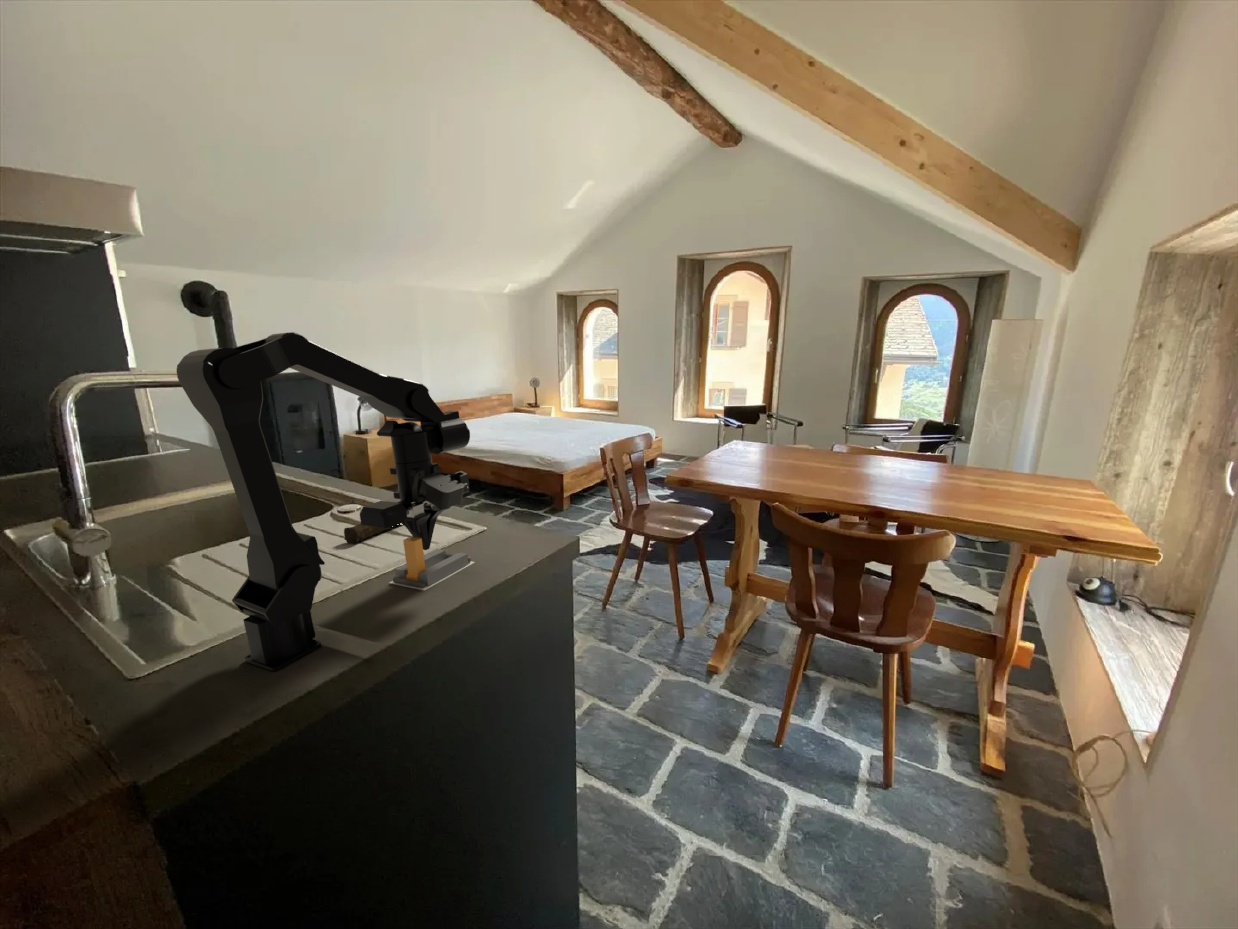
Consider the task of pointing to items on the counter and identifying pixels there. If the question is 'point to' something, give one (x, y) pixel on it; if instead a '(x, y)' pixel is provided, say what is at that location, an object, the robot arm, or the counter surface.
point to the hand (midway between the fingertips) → (425, 549)
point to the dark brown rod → (361, 532)
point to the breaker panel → (433, 569)
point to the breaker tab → (414, 557)
